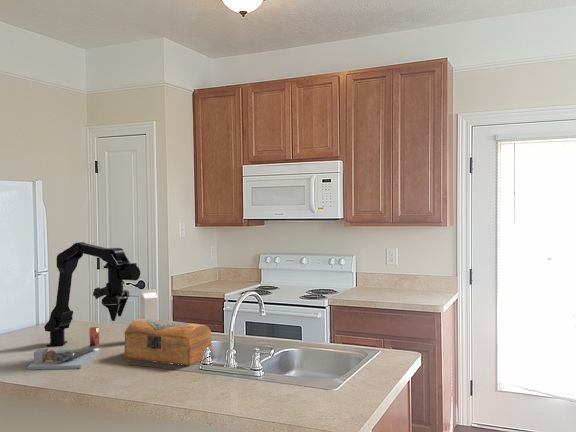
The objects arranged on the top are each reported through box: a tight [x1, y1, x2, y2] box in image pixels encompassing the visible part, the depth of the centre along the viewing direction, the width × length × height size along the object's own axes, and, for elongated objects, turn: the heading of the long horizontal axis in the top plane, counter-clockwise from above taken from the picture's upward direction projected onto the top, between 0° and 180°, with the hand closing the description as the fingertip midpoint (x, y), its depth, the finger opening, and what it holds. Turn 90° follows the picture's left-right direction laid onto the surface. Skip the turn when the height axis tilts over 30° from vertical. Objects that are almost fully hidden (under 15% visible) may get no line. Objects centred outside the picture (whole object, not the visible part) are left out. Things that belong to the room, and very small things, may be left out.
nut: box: [46, 349, 56, 360], centre depth 207 cm, size 4×4×4 cm
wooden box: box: [124, 318, 212, 367], centre depth 214 cm, size 30×16×14 cm, turn 64°
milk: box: [139, 288, 159, 320], centre depth 242 cm, size 6×6×22 cm
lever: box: [54, 326, 100, 361], centre depth 213 cm, size 5×22×8 cm, turn 163°
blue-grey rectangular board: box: [26, 347, 101, 371], centre depth 212 cm, size 24×19×5 cm
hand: (116, 318), depth 223 cm, fingers open, 9 cm apart
